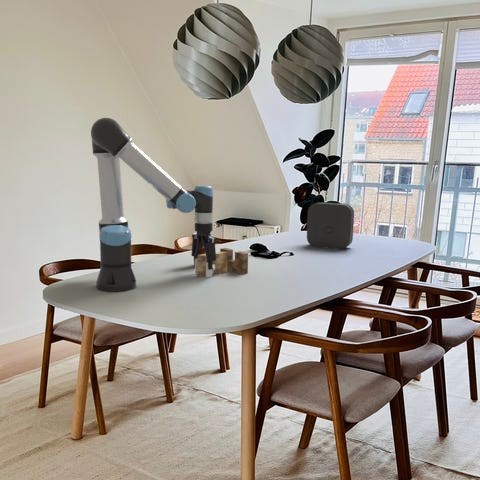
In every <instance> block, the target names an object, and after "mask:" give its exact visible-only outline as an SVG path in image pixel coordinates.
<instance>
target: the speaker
mask: <svg viewBox="0 0 480 480" xmlns="http://www.w3.org/2000/svg"><path fill="white" fill-rule="evenodd" d="M306 219H307V220H306V221H307V222H306V223H307V224H306V240H307V243H308V244H309V245H310V246H312V247H314V246H316V247H315V248H322V247H328V248H327V249H334V248H340V249H339V250H343V249H346V248H348V247H349V246H350V245H352V242H353V239H354V238H353V237H354V225H355V223H354V220H355V211H354V208H353V206H351V205H350V204H348V203H340V202H339V203H338V202H315V203H312V204H311V205H309V207H308V210H307V218H306Z"/></svg>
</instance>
